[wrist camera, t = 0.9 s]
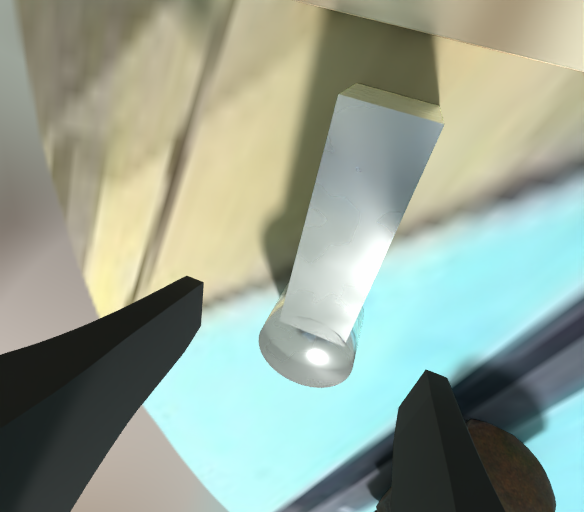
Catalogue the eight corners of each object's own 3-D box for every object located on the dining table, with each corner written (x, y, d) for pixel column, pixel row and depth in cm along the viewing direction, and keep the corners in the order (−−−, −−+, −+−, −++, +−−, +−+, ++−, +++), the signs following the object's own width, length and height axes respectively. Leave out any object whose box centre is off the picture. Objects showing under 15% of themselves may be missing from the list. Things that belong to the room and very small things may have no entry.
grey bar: (461, 112, 12) (472, 132, 10) (348, 350, 20) (336, 399, 18) (336, 77, 13) (313, 87, 10) (275, 321, 21) (252, 364, 18)
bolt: (381, 480, 30) (484, 401, 21) (427, 537, 28) (567, 476, 19) (339, 531, 27) (443, 461, 17) (388, 602, 24) (538, 565, 15)
